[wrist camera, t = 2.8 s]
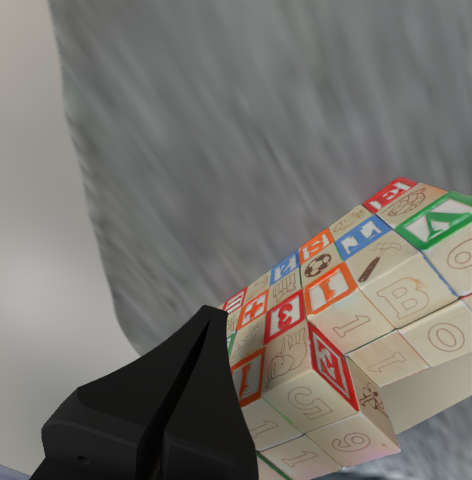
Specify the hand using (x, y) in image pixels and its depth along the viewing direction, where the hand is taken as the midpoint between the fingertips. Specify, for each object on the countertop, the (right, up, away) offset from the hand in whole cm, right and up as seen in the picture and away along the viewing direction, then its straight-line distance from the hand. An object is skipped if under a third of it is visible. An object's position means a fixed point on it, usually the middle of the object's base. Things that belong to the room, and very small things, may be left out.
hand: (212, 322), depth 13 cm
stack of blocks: (+8, +1, +10) cm, 12 cm away
